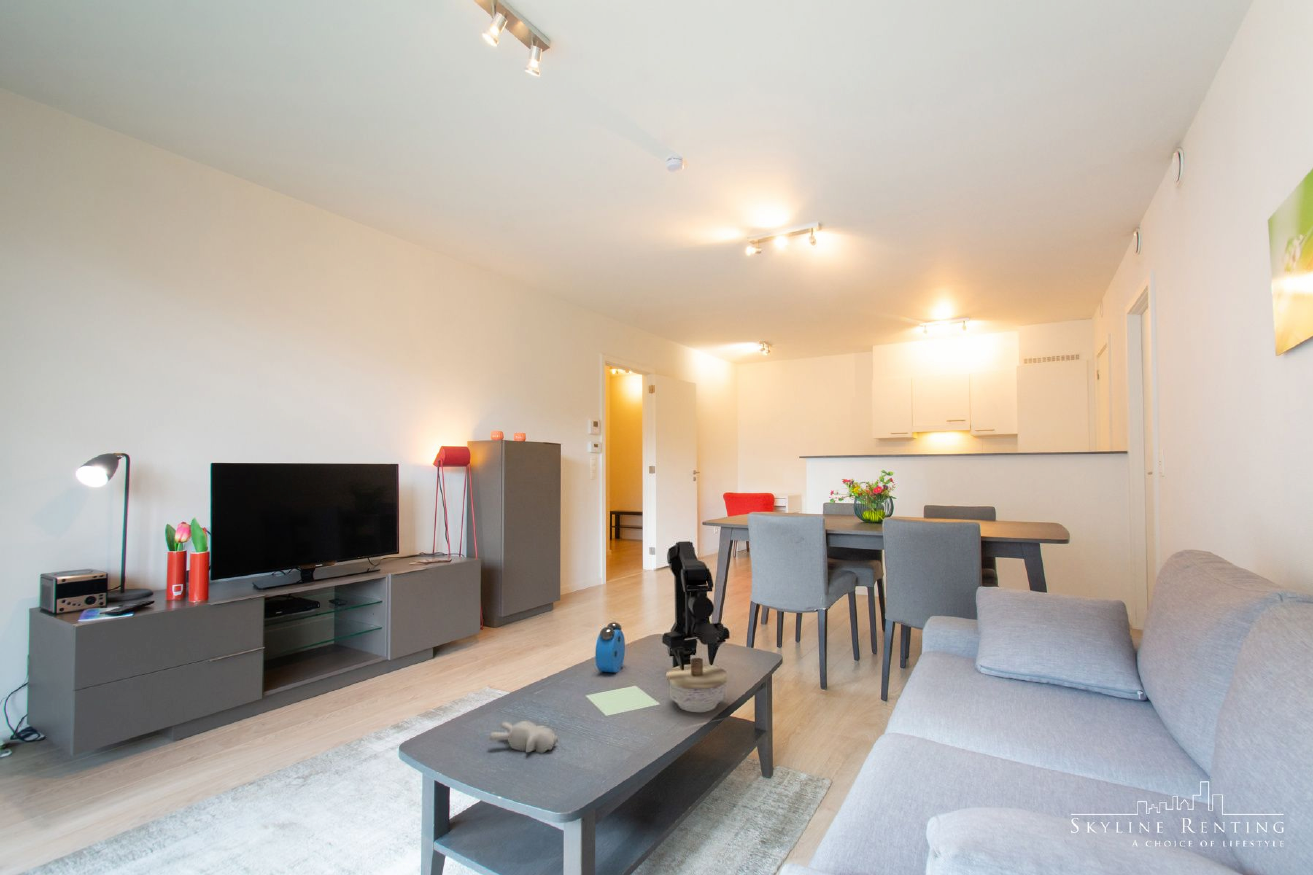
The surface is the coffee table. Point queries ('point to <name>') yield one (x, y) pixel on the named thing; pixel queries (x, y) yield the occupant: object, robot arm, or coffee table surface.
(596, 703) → the mat
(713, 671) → the lid
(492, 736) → the bunny figurine
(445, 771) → the coffee table surface
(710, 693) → the white and purple bowl
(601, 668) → the alarm clock
